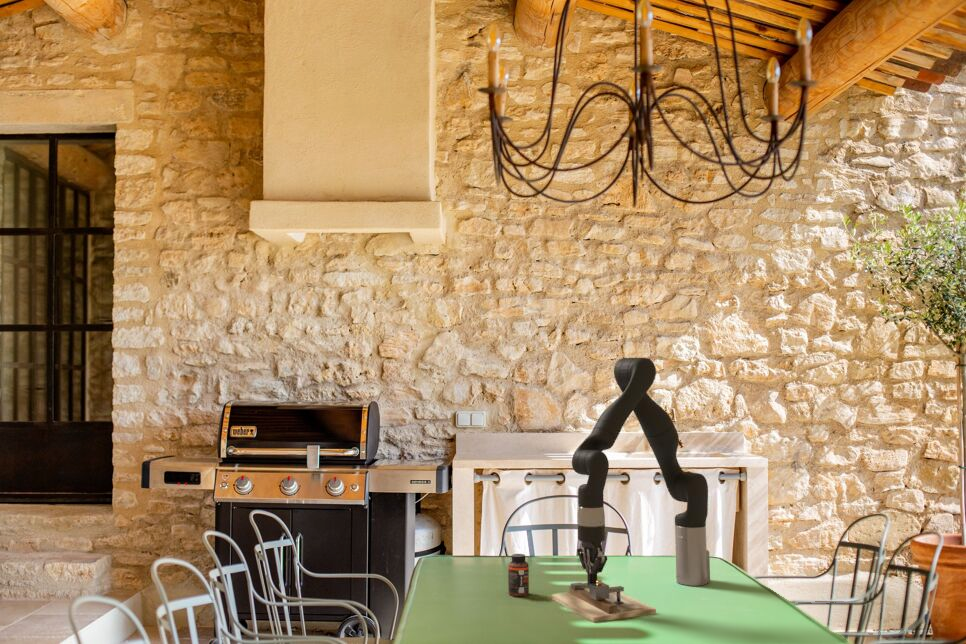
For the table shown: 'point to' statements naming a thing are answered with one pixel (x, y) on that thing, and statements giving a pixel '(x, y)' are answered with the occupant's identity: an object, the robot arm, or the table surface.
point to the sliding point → (603, 590)
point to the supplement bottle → (518, 576)
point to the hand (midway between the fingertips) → (592, 587)
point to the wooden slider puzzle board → (602, 605)
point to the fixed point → (579, 586)
